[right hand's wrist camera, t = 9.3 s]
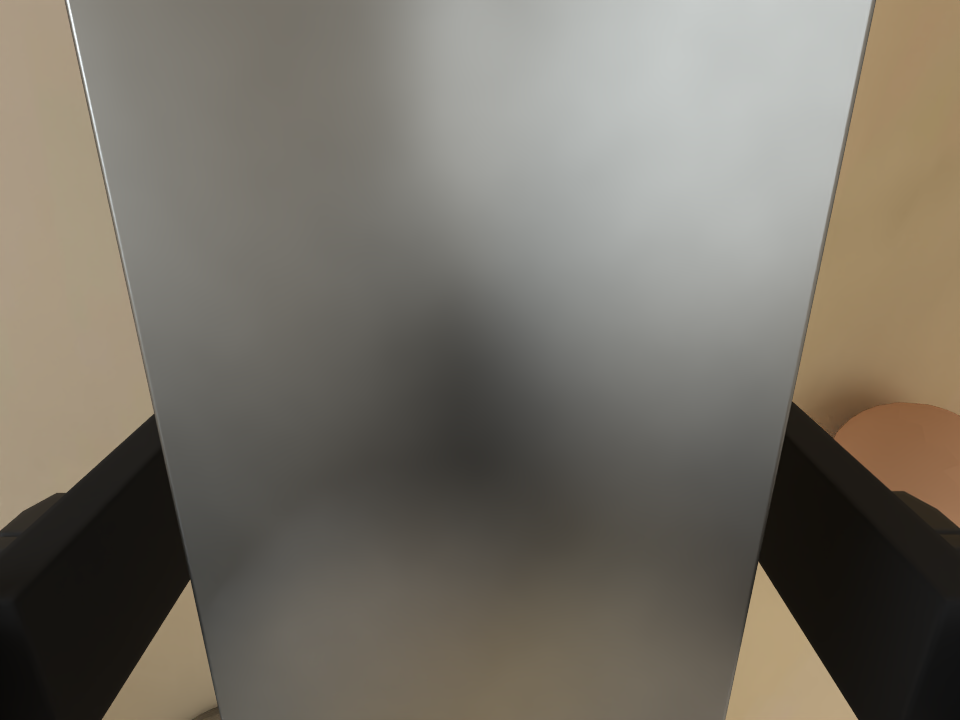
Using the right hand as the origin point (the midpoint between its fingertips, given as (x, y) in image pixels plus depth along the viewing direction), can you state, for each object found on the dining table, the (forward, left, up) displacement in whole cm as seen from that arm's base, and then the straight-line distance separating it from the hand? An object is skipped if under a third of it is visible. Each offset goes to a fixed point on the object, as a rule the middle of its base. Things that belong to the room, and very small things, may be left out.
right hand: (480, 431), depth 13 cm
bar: (+9, 0, -2) cm, 9 cm away
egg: (-7, -18, -13) cm, 23 cm away
